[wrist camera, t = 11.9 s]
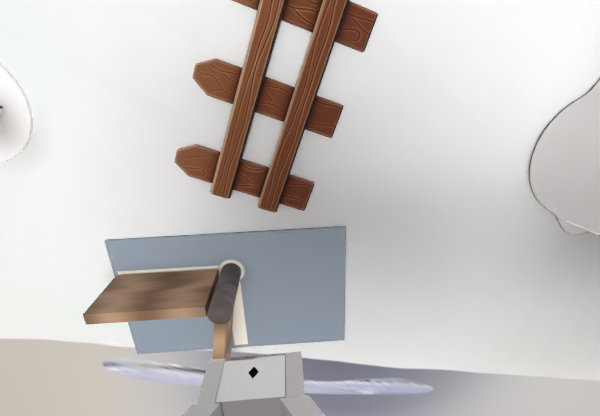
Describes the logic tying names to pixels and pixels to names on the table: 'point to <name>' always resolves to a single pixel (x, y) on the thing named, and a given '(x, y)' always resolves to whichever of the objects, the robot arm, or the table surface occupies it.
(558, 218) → the robot arm
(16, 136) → the white upright piece
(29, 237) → the table surface
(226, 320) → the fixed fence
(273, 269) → the card
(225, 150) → the decorative fence
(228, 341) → the swing panel
